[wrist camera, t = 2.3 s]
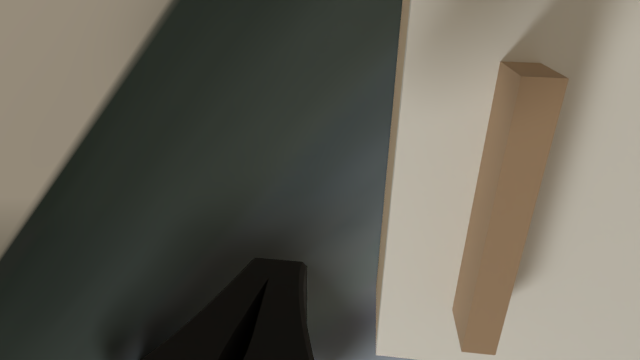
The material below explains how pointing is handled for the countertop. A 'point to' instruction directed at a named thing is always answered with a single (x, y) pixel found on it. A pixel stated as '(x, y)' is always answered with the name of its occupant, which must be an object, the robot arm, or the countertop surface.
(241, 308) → the robot arm
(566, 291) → the mailer lid
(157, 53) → the countertop surface
